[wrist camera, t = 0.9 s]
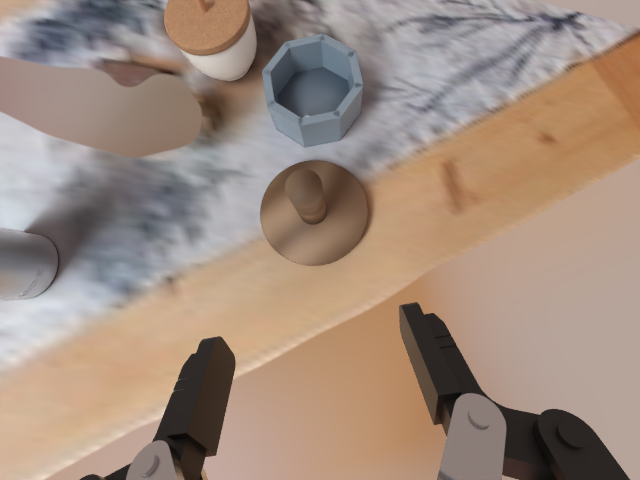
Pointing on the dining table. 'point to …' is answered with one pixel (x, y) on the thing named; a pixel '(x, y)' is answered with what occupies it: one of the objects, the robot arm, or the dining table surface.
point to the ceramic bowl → (313, 89)
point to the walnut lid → (314, 213)
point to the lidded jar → (213, 35)
